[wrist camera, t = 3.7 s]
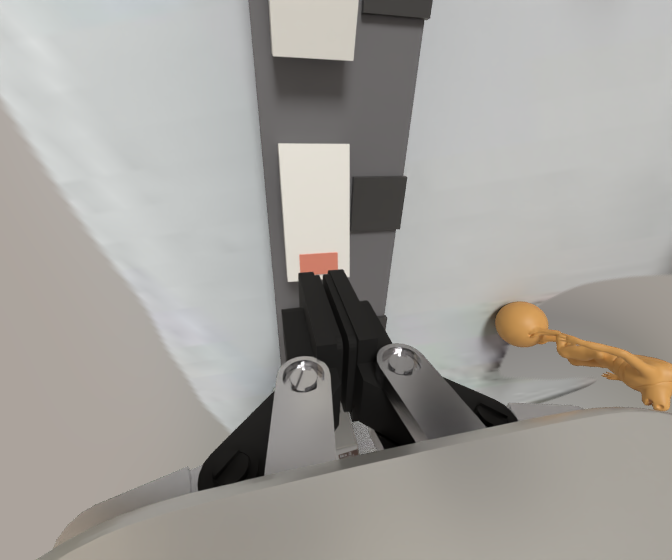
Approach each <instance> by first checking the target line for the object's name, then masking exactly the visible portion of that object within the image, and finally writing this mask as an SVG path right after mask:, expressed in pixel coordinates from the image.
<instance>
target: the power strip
mask: <svg viewBox="0 0 672 560" xmlns="http://www.w3.org/2000/svg"><path fill="white" fill-rule="evenodd" d="M432 1H433V0H359V3H358V14H357V26H356V37H355V49H354V60H353V61H346V60H329V59H312V58H296V57H279V56H273V55H272V51H271V34H270V18H269V1H268V0H249V10H250V21H251V33H252V44H253V55H254V66H255V77H256V88H257V100H258V111H259V122H260V133H261V144H262V156H263V167H264V178H265V189H266V200H267V211H268V223H269V234H270V245H271V256H272V267H273V279H274V290H275V301H276V312H277V323H278V335H279V346H280V357H281V366H282V365H283V364H284V363H286V357H285V347H284V337H283V326H282V313H281V309H289V308H298V307H299V285H298V281H294V282H288V279H287V272H286V258H285V244H284V229H283V215H282V201H281V187H280V173H279V158H278V143H296V144H350V277H347V278H348V280H349V281H350V283H351V285H352V287H353V289H354V291H355V293H356V295H357V297H358V299H359V301H364V300H367V301H369V303H370V304H371V306H372V308H373V310H374V311H375V313H376V315H377V317H378V319H379V320H380V322H381V324H382V326H383V328H384V329H386V322H387V317H386V315H384V313H385V306H386V298H387V291H388V284H389V276H390V269H391V262H392V254H393V247H394V239H395V232H396V229H400V224H401V217H402V210H403V203H404V196H405V189H406V182H407V177H406V176H403V173H404V166H405V159H406V151H407V144H408V136H409V129H410V122H411V114H412V107H413V100H414V92H415V85H416V78H417V70H418V63H419V56H420V48H421V41H422V33H423V26H424V20H428V19H430V15H431V8H432ZM321 281H322V284H323V279H321Z"/></svg>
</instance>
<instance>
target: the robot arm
mask: <svg viewBox="0 0 672 560" xmlns="http://www.w3.org/2000/svg"><path fill="white" fill-rule="evenodd" d="M298 285H299V307H298V308H289V309H281V313H282V326H283V337H284V347H285V357H286V363H284V364H283V365H282V366H281V368H280V369H279V370H278V374H277V377H276V385H275V391H274V392H273V393H272V394H271V395H270V396H269V397H268V398H267V399H266V400H265V401H264V402H263V403H262V404H261V405H260V406H259V407H258V408H257V409H256V410H255V411H254V412H253V413H252V414H251V415H250V416H249V417H248V418H247V419H246V420H245V421H244V422H243V423H242V424H241V425H240V426H239V427H238V428H237V429H236V430H235V431H234V432H233V433H232V434H231V435H230V436H229V437H228V438H227V439H226V440H225V441H224V442H223V443H222V444H221V445H220V446H219V447H218V448H217V449H216V450H215V451H214V452H213V453H212V454H211V455H210V456H209V458H208V459H207V460H206V461H205V462H204V464H203V465H201V466H199V467H196V468H194V469H192V470H189V467H185V468H183V469H181V470H178V471H176V472H173V473H171V474H168V475H166V476H163V477H161V478H159V479H156V480H154V481H151V482H149V483H147V484H144V485H142V486H139V487H137V488H135V489H132V490H130V491H127V492H125V493H123V494H120V495H118V496H115V497H113V498H110V499H108V500H106V501H103V502H101V503H99V504H96V505H94V506H92V507H91V508H89V509H87V510H85V511H84V512H82V513H81V514H79V515H78V516H77V517H76V518H75V519H74V520H73V521H72V522H70V523H69V524H68V525H67V527H66V528H65V529H64V531H63V532H62V533H61V535H60V536H59V537H58V539H57V540H56V543H55V545H54V548H53V549H52V550H51V551H49V552H48V553H46V554H45V555H43V556H41V557H40V558H38V559H36V560H672V413H668V412H662V411H656V410H650V409H644V408H629V407H605V408H591V409H583V408H581V407H578V406H572V405H558V404H531V403H508V405H507V407H506V406H505V405H503V404H502V403H500V402H498V401H496V400H495V399H492V398H490V397H488V396H486V395H483V394H481V393H479V392H476V391H474V390H472V389H469V388H467V387H465V386H462V385H460V384H458V383H455V382H453V381H451V380H449V379H446V378H444V377H442V376H441V375H440V374H439V372H438V371H437V370H436V369H435V368H434V367H433V366H432V364H431V363H430V362H429V361H428V360H427V359H426V358H425V356H424V355H423V354H422V353H421V352H419V351H418V350H417V349H415V348H413V347H411V346H409V345H405V344H399V343H394V344H392V342H391V340H390V338H389V337H388V335H387V333H386V331H385V329H384V328H383V326H382V324H381V322H380V320H379V319H378V317H377V315H376V313H375V311H374V310H373V308H372V306H371V304H370V303H369V301H367V300H364V301H359V299H358V297H357V295H356V293H355V291H354V289H353V287H352V285H351V283H350V281H349V280H348V278H347V276H346V274H345V272H344V270H343V269H338V270H328V274H324V275H323V284H322V281H321V278H320V276H319V275H314V272H302V273H298ZM340 402H341V404H342V408H343V411H344V412H350V416H351V419H352V422H354V421H359V422H361V423H363V424H365V425H366V426H368V432H369V435H370V437H371V439H372V441H373V443H374V445H375V447H376V449H377V451H376V452H371V453H366V454H362V455H357V456H352V457H348V458H343V459H339V460H336V446H335V430H336V429H337V428H338V426H339V417H340Z"/></svg>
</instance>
